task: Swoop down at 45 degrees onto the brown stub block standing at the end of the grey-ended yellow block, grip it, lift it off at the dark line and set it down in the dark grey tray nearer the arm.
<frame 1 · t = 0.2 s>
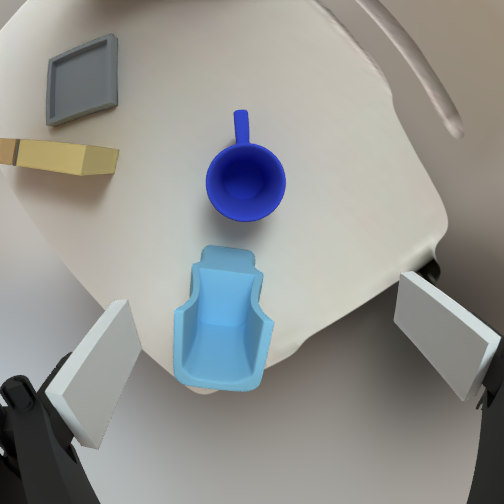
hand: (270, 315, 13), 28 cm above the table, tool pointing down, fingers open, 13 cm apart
mug: (242, 165, 38), on the table
grey-ended yellow block: (83, 156, 35), on the table
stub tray: (83, 81, 32), on the table
stub: (38, 150, 34), on the table
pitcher: (226, 273, 42), on the table
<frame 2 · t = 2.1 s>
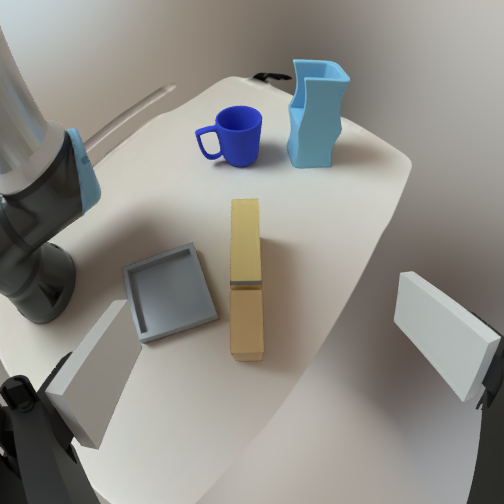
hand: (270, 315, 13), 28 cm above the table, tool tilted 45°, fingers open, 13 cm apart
mug: (231, 160, 55), on the table
grey-ended yellow block: (247, 271, 44), on the table
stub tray: (169, 295, 42), on the table
stub: (248, 336, 39), on the table
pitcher: (307, 154, 55), on the table
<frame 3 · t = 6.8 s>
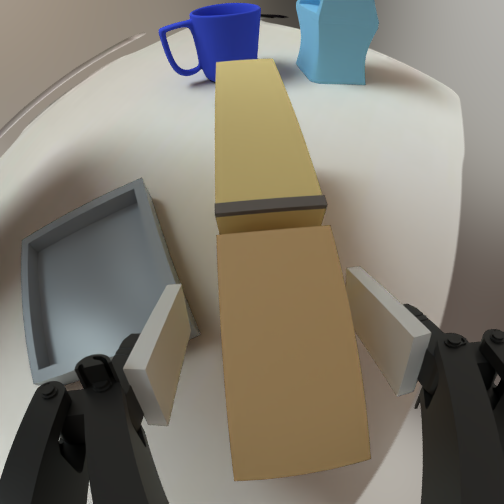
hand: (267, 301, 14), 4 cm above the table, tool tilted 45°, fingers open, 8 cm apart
mug: (216, 79, 32), on the table
grey-ended yellow block: (256, 227, 20), on the table
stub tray: (98, 288, 18), on the table
stub: (273, 372, 16), on the table
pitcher: (328, 72, 33), on the table
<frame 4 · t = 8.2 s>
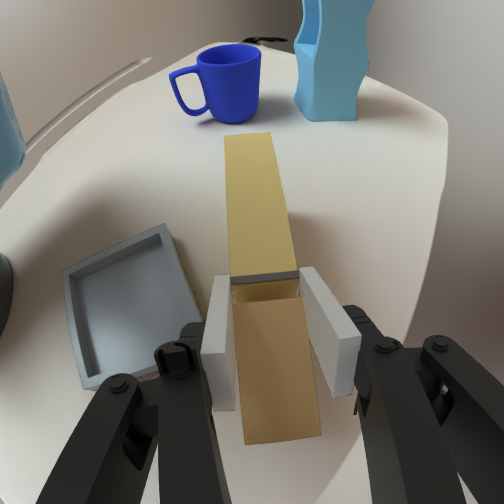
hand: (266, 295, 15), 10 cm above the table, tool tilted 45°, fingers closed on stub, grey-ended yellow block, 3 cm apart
mug: (221, 117, 38), on the table
grey-ended yellow block: (257, 264, 26), on the table
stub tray: (132, 312, 24), on the table
stub: (268, 379, 21), on the table, touching gripper
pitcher: (323, 107, 39), on the table
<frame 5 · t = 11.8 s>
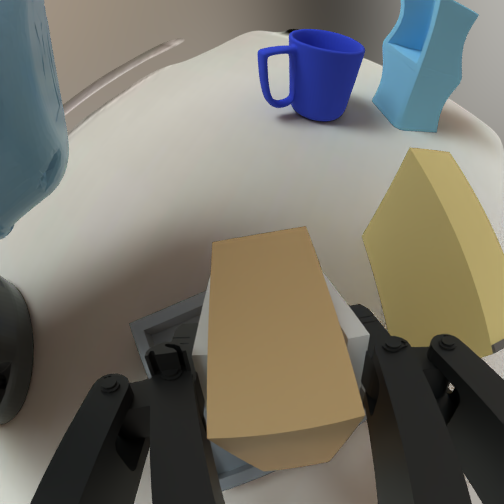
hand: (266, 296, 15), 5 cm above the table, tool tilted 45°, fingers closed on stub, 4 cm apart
mug: (303, 113, 31), on the table
grey-ended yellow block: (399, 300, 20), on the table
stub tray: (254, 376, 18), on the table
stub: (289, 412, 14), point 2 cm above the table, tilted 23°, touching gripper, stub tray
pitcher: (402, 115, 33), on the table
when the fingers open (5 cm above the table, at t = 12.1 s): stub stays where it is, resting on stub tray.
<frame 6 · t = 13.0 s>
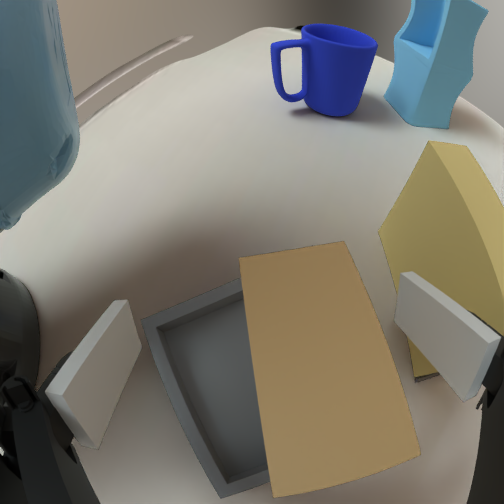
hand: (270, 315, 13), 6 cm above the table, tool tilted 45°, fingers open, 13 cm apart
mug: (315, 108, 31), on the table
grey-ended yellow block: (416, 296, 19), on the table
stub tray: (270, 374, 17), on the table
stub: (299, 415, 14), point 2 cm above the table, tilted 15°, touching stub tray
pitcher: (414, 111, 32), on the table
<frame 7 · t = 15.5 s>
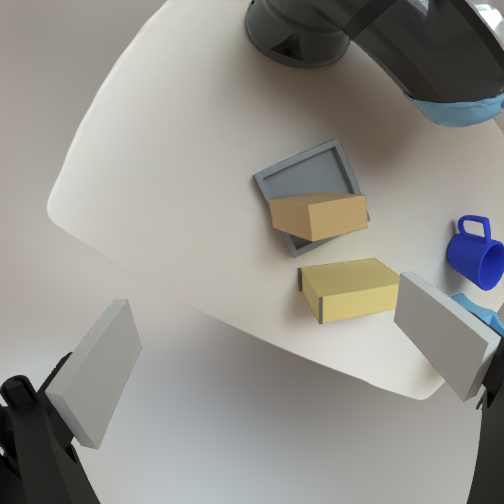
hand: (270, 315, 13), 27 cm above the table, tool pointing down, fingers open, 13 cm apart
mug: (455, 239, 41), on the table
grey-ended yellow block: (339, 273, 42), on the table
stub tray: (311, 196, 38), on the table
stub: (295, 209, 36), point 2 cm above the table, tilted 16°, touching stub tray
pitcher: (449, 313, 46), on the table
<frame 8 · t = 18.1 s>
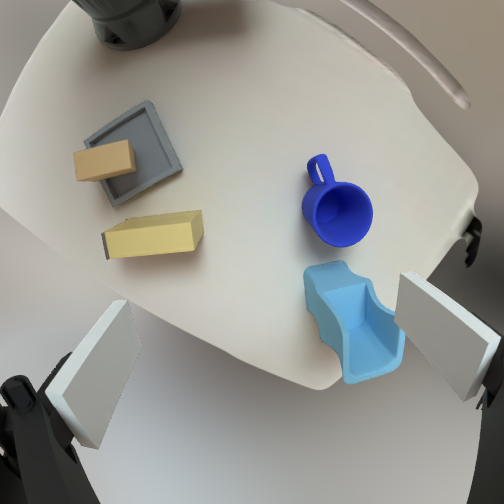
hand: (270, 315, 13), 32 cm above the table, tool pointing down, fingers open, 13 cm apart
mug: (317, 193, 43), on the table
grey-ended yellow block: (165, 225, 43), on the table
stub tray: (133, 153, 39), on the table
stub: (113, 165, 38), point 2 cm above the table, tilted 16°, touching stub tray
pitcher: (326, 284, 47), on the table
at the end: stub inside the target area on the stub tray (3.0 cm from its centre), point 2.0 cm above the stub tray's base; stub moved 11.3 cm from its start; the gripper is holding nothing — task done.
